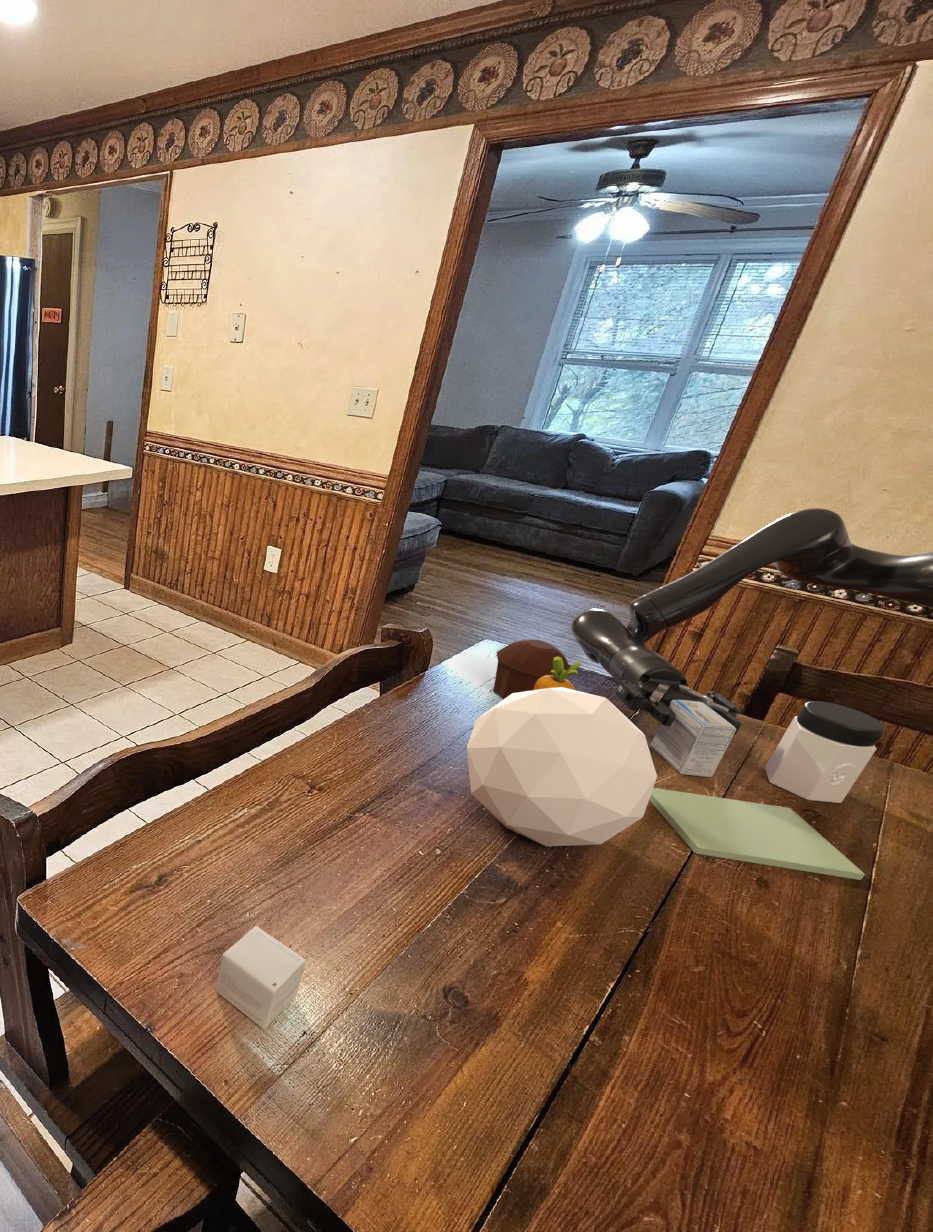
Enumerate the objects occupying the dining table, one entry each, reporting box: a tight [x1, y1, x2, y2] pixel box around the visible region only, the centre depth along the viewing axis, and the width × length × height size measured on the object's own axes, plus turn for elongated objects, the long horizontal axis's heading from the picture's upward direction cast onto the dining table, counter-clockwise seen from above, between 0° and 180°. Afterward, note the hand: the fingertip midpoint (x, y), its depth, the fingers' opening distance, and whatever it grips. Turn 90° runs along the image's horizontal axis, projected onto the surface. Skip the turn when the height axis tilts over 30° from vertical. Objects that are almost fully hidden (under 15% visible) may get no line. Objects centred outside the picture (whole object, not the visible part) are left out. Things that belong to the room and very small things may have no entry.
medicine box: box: [650, 700, 736, 778], centre depth 107 cm, size 8×4×9 cm, turn 171°
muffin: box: [492, 638, 571, 700], centre depth 123 cm, size 12×11×10 cm
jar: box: [764, 700, 886, 804], centre depth 102 cm, size 9×8×12 cm
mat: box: [649, 787, 866, 881], centre depth 94 cm, size 18×13×1 cm
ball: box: [466, 687, 658, 847], centre depth 89 cm, size 19×20×20 cm
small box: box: [214, 925, 307, 1030], centre depth 66 cm, size 6×6×5 cm
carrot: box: [533, 657, 583, 690], centre depth 108 cm, size 5×5×15 cm
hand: (702, 725), depth 105 cm, fingers open, 8 cm apart
